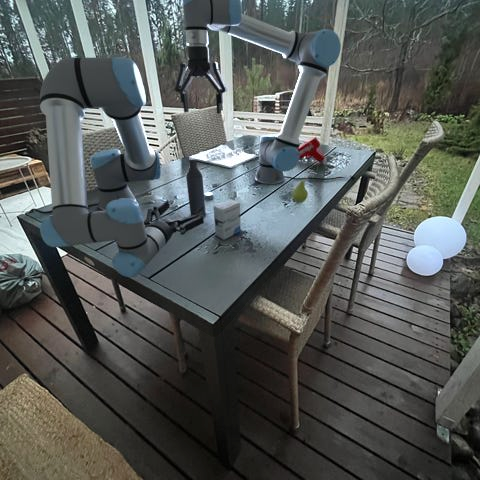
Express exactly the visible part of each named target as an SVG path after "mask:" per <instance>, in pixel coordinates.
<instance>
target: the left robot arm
mask: <svg viewBox="0 0 480 480" xmlns="http://www.w3.org/2000/svg"><path fill="white" fill-rule="evenodd" d="M39 92H40V93H39V108H40V111H41V113H43V115H45V124H46V125H45V126H46V136H47V137H46V139H47V152H48V155H47V156H48V166H49V167H48V168H49V169H48V170H49V183H50V196H51V197H50V198H51V210H46V211H43V210H40V209H37V208H31V209H30V210H29V213H33V212H34V210H35V212H37V213H39V214H44V215H46V214H47V215H48V214H51V215H48V216H44V217H43V218H42V219H41V221H40V225H39V233H40V236H41V239H42V240H43V242H44V243H45V244H46V245H47V246H48V247H51V248H61V247H73V246H74V247H75V246H79V245H81V246H82V245H86V244H87V245H88V244H95V243H103V242H112V241H115V243H116V245H117V249H118V252H116V254H115V255H114V256H113V257H112V266H113V268H114V270H115V271H116V272H117V273H118V274H120V275H121V276H122V277H125V278H126V277H127V278H135V277H137V276H138V275H139V274H140V273H141V272H142V271H143V270H145V269H146V267H147V266H148V265H149V264H150V262H151V261H152V260H154V258H155V257H156V256H157V255H158V253H159V252H160V251H161V250H162V249H163V248H164V246H166V245H167V243H168V242H169V241H170V240H171V239H172V237H173V235H174V234H175V233H177V232H178V233H180V235H182V236H183V235H185V234H186V233H187V232H189V231H192V230H193V229H195V228H197V227H199V226H201V225H203V224H204V223H205V220H204V218H203V213H204V205H201V206H200V207H199V208H198V209H197V211H196V212H195V213H194V215H192V216H191V215H189V216H185V217H182V218H174V219H168V218H162V216H163V215H164V213H166V212H167V211H168V210H169V209H170V208H171V205H170V200H166V201H165V202H163V203H162V204H161V205H159V206H158V207H157V206H153V207H152V208H153V209H152V208H149V209H147V213H146V217H145V220H144V215H143V214H142V211H141V207H140V204H139V202H138V201H137V198H136V197H135V195H134V194H133V193H132V191H131V189H130V187H129V183H133V182H134V183H135V182H143V181H155V180H159V179H160V178H161V176H162V171H161V159H160V158H161V157H160V153H159V151H158V150H154V149H153V148H152V147H151V146H150V145H149V142H148V138H147V134H146V130H145V127H144V124H143V120H142V117H141V112H142V110H143V107H145V106H146V104H147V98H146V97H147V96H146V91H145V86H144V84H143V79H142V76H141V73H140V70H139V67H138V66H137V64H136V63H135V61H134V60H132V59H131V58H129V57H120V56H113V57H76V56H75V57H73V56H70V57H66V58H62V59H60V60H59V61H57V62H56V63H55V64H54V65H53V66H51V68H50V69H49V70H48V72H47V73H46V75H45V77H44V78H43V82H42V84H41V87H40V91H39ZM86 109H101V110H102V112H103V113H104V115H106V116H107V117H108V118H110V119H111V121H112V123H113V124H114V127H115V129H116V131H117V134H118V136H119V139H120V141H121V144H122V147H123V148H124V150H125V152H122V153H121V151H120V149H118V148H111V149H105V150H101V151H98V152H96V153H94V154H92V155H91V156H90V158H89V161H90V166H91V170H92V172H93V173H92V174H93V176H94V179H95V182H96V185H97V188H98V203H97V202H96V203H91V204H89V203H88V202H89V201H88V188H87V178H86V167H85V166H86V165H85V153H84V142H83V129H82V121H83V120H84V119H85V117H86V116H85V115H86V113H85V110H86ZM92 207H98V208H99V210H97V211H89V208H92ZM31 211H32V212H31ZM153 217H154V218H155V219H156V220H153Z"/></svg>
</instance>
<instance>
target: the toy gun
mask: <svg viewBox="0 0 480 480" xmlns="http://www.w3.org/2000/svg"><path fill="white" fill-rule="evenodd" d="M320 147H321V142H320V141H319V140H318V138H317V136H314V137H313V138H311V139H310V140H308V141H306V142H305V143H303V144H302V145H300V146H299V149H298V152H299V161H300V160H301V159H303V158H304V157H305V159H307V160H309V159H310V158H313V159H315V160H316V162H317V164H320V163H323V162H324V159H325V157H326V156H325V155H324V154H323V153H322V152H320V151H319V149H320ZM318 148H319V149H318ZM322 160H323V161H322ZM318 161H319V162H320V163H318ZM321 161H322V162H321Z"/></svg>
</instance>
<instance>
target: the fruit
mask: <svg viewBox="0 0 480 480" xmlns="http://www.w3.org/2000/svg"><path fill="white" fill-rule="evenodd" d="M309 177H311V175H310V174H309V175H308V176H306V177H305V178H306V179H301V181H300V182H298V184H297V185H296V186H295V187H294V188H293V190H292V191H291V198H292V200H293V201H294V202H295V203H297V204H301V203H304V202H305V201H306V200H307V198H308V196H309V195H308V190H307V189H306V184H305V183H306V180H308V179H307V178H309Z"/></svg>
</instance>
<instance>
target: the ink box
mask: <svg viewBox="0 0 480 480" xmlns="http://www.w3.org/2000/svg"><path fill="white" fill-rule="evenodd" d="M213 214H214V215H213V217H214V218H213V219H214V233H215V236H217V237H218V238H220V239H222V240H226V239H228V238H230V237H232V236H234V235H236V234H238V233H240V232H241V229H242V228H241V202H239V201H237V200H235V199H233V198H230V199H227V200H226V201H223V202H219V203H218V204H215V205H213Z"/></svg>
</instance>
